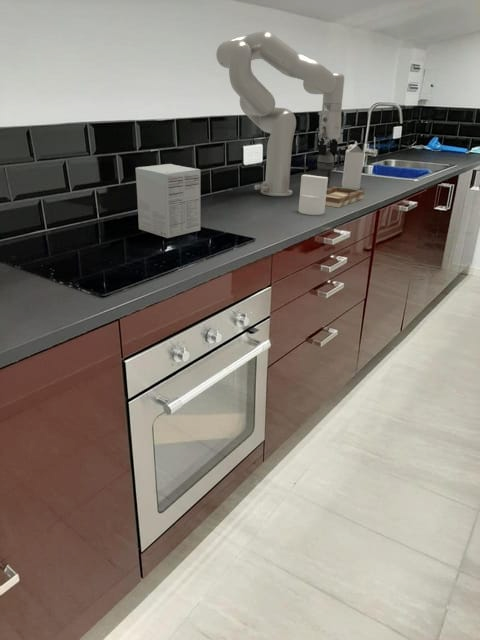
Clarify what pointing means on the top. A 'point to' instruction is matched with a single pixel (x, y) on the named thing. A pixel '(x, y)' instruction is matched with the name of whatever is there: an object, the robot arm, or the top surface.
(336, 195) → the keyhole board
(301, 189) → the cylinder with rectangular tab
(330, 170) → the beverage cup
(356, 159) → the milk carton
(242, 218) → the top surface
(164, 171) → the supplement box
